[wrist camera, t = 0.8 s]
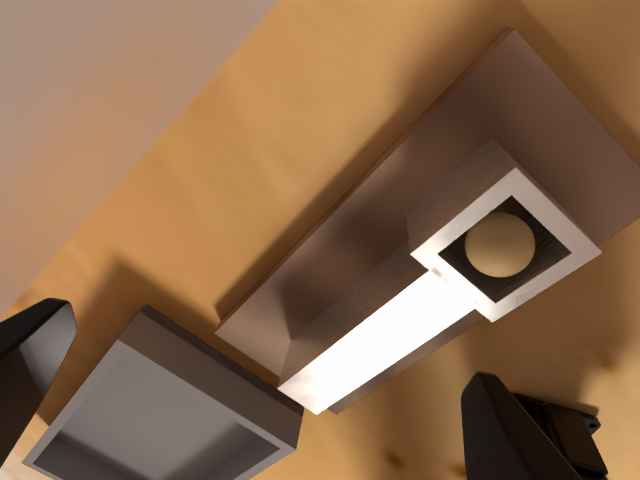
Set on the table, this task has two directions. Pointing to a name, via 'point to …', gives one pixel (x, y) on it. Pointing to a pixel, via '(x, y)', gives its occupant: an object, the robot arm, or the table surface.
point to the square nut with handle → (432, 280)
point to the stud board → (423, 176)
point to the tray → (167, 414)
